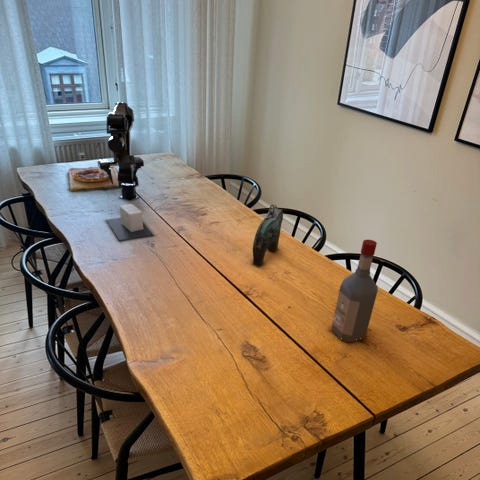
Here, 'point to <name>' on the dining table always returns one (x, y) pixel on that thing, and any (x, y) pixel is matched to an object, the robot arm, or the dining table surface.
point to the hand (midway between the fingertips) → (122, 182)
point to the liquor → (356, 299)
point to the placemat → (126, 234)
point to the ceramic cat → (267, 235)
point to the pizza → (91, 179)
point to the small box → (131, 217)
